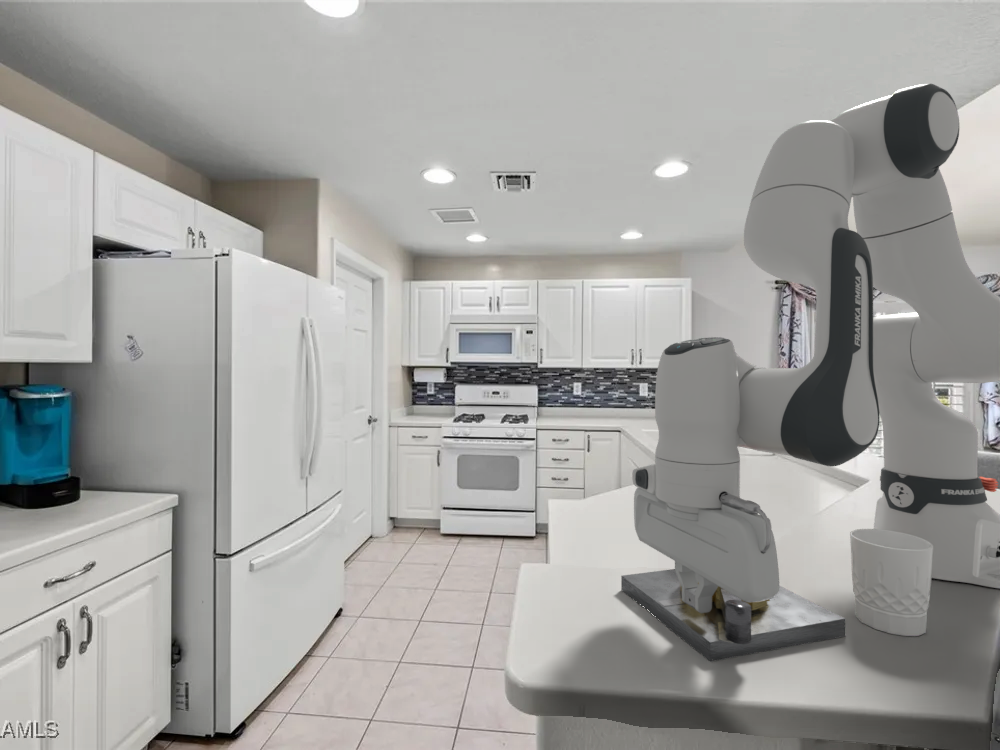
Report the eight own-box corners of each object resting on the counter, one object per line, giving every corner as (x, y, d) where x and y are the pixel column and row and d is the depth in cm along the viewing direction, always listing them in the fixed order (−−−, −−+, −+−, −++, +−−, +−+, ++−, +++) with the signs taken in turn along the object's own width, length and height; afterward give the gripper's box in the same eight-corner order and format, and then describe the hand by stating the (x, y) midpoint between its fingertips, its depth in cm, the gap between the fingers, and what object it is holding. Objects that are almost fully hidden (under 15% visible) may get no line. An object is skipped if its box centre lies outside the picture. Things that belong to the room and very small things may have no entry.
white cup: (840, 620, 62) (840, 537, 62) (861, 601, 67) (861, 524, 67) (923, 647, 56) (924, 555, 56) (939, 624, 61) (940, 539, 61)
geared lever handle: (678, 572, 71) (678, 546, 71) (759, 580, 68) (759, 553, 68) (686, 638, 53) (686, 603, 53) (796, 653, 50) (796, 616, 50)
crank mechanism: (731, 575, 76) (731, 527, 76) (851, 639, 58) (851, 576, 58) (621, 590, 71) (621, 538, 70) (714, 665, 53) (714, 596, 53)
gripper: (796, 504, 49) (796, 650, 49) (667, 465, 68) (667, 570, 68) (741, 510, 47) (741, 661, 47) (624, 468, 67) (625, 575, 67)
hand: (696, 606), depth 58 cm, fingers closed
